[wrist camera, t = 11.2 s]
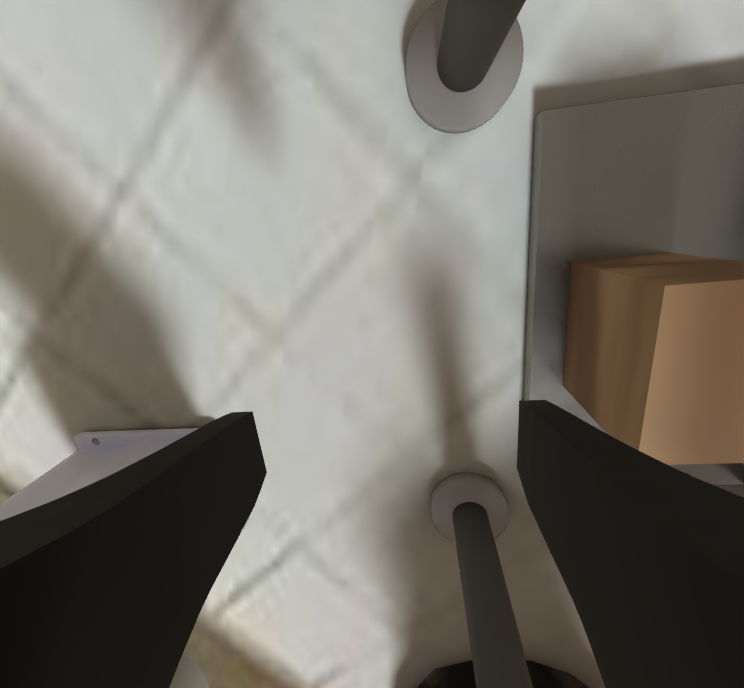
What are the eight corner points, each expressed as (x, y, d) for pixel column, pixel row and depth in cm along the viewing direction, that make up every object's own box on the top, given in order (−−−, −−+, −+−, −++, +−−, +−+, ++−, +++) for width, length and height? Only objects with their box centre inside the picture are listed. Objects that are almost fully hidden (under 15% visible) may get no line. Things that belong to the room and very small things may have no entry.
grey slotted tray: (520, 474, 20) (553, 550, 16) (534, 117, 15) (593, 69, 10) (753, 471, 19) (866, 553, 14) (870, 72, 13) (1124, -9, 9)
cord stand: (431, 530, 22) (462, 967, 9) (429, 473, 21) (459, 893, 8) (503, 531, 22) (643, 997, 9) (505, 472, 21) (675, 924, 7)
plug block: (562, 385, 17) (636, 465, 12) (571, 261, 16) (665, 285, 10) (651, 381, 17) (772, 462, 11) (672, 252, 15) (830, 272, 9)
